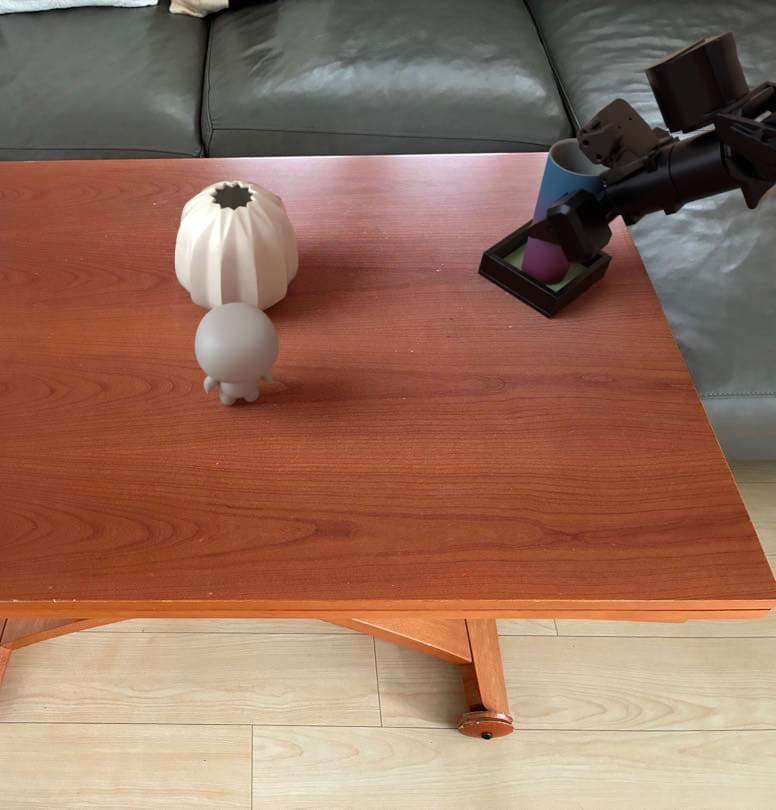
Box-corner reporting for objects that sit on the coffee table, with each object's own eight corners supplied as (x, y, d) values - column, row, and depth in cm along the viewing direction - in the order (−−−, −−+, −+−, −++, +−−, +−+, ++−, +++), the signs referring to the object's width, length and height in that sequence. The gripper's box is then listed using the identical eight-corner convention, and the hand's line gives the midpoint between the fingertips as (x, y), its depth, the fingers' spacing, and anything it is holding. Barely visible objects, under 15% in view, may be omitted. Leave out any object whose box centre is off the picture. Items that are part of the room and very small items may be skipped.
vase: (310, 264, 93) (315, 169, 82) (271, 344, 85) (271, 251, 75) (206, 240, 96) (197, 146, 86) (159, 315, 89) (144, 222, 78)
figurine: (270, 367, 83) (269, 285, 74) (284, 422, 78) (286, 342, 69) (196, 379, 82) (186, 298, 73) (206, 435, 78) (197, 356, 68)
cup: (552, 298, 86) (595, 184, 75) (501, 270, 90) (535, 156, 78) (585, 270, 89) (632, 156, 78) (535, 244, 93) (572, 130, 81)
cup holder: (603, 277, 90) (612, 256, 87) (549, 319, 86) (557, 298, 83) (531, 235, 95) (538, 214, 92) (477, 273, 91) (483, 252, 88)
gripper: (703, 51, 73) (565, 114, 87) (598, 133, 65) (465, 187, 79) (746, 157, 75) (605, 201, 89) (649, 248, 68) (512, 281, 82)
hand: (548, 215), depth 85 cm, fingers open, 8 cm apart
